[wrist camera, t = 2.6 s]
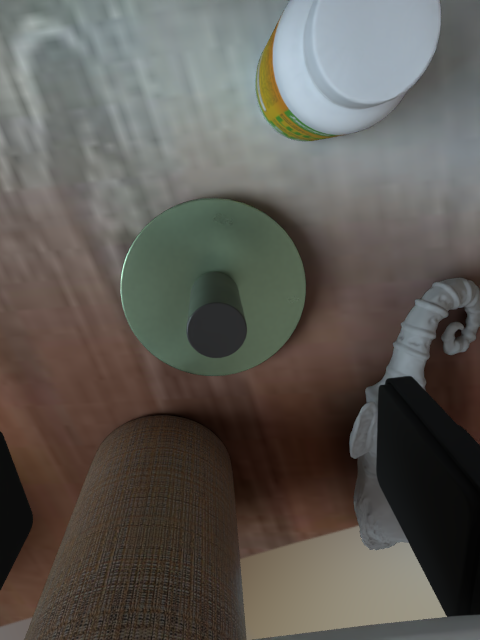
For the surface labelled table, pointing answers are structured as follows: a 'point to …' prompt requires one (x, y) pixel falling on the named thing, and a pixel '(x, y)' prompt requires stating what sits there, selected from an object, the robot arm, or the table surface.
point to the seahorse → (410, 361)
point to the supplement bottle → (343, 63)
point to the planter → (149, 542)
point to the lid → (213, 287)
